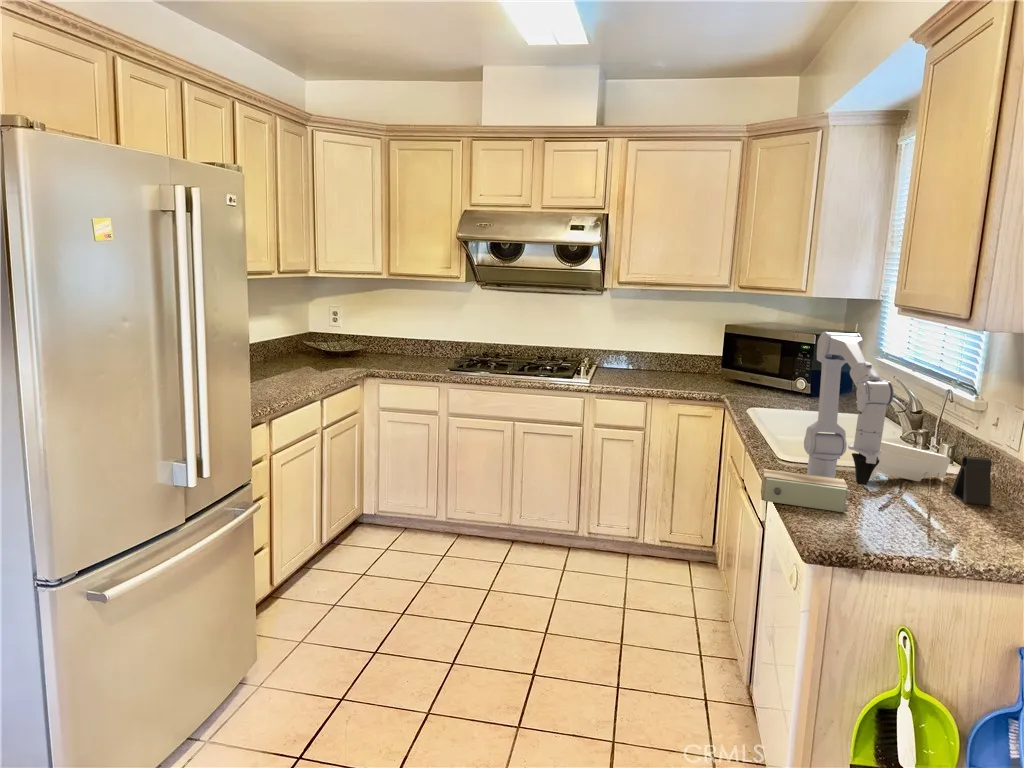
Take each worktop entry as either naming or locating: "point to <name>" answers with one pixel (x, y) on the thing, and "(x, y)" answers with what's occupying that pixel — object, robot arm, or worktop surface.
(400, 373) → the worktop surface
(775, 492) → the cabinet door
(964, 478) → the door stopper
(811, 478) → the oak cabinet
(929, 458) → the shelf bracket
